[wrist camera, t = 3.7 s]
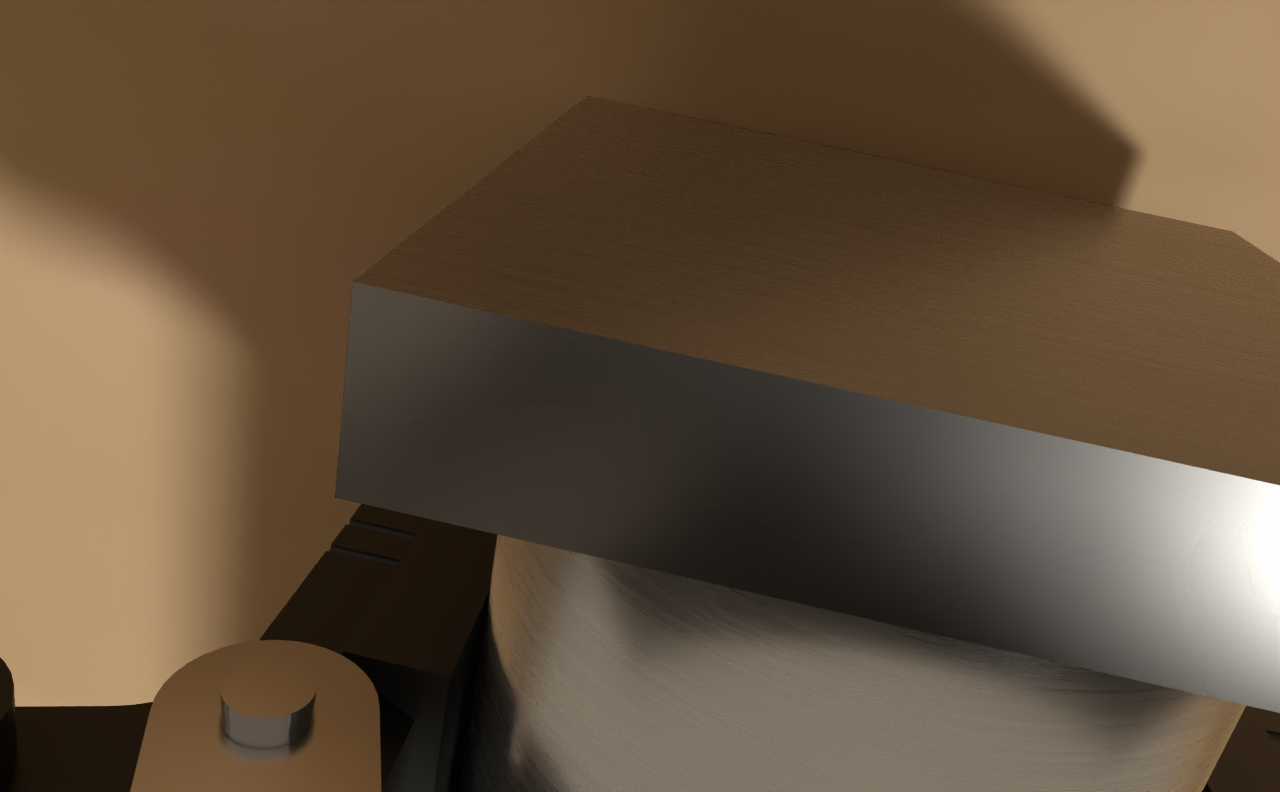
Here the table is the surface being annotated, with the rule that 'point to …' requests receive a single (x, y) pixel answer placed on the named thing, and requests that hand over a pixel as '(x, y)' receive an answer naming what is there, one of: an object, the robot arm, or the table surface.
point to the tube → (830, 468)
